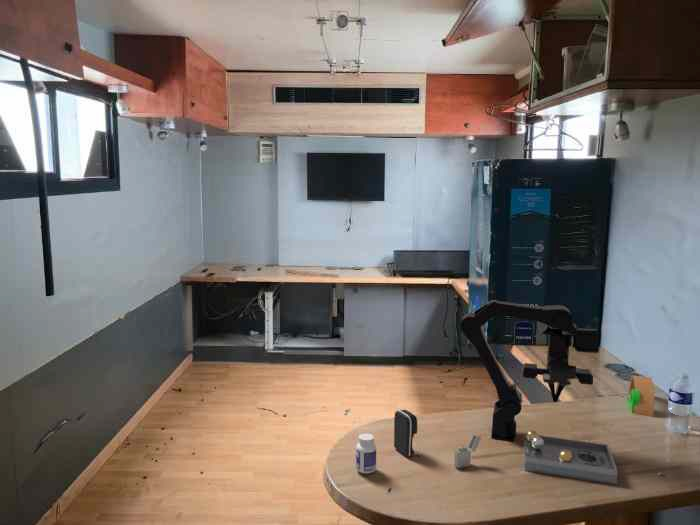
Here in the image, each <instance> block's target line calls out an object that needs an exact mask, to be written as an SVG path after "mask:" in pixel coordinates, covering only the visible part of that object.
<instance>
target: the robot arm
mask: <svg viewBox="0 0 700 525" xmlns="http://www.w3.org/2000/svg"><path fill="white" fill-rule="evenodd" d="M495 316H501V317H507V318H515V319H521V320H529V321H535V322H539V323H541V324H544V325H546V326H545V327H544V328H542V329H541V332H542V335H548V341H547V343H548V344H547V358H546V368H541V367H538V364H537V363H528V362H524V363H523V364H522V377H523V378H525V379H536V378H537V377H538V375H540V376H542V382H543V383H547V385H548V388H549V390H550V394H551V399H552V402H553V403H557V402H558V400H559V397H560V396H561V394H562V392H563V390H564V388H565V387H567V386H570V385H571V384H572V382H571V380H575V379H576V380H577V381H578V382H579V384H580V385H591V386H592V385H593V384H594V375H593V373H592V371H591V370H590V369H587V368H579V367H578V368H577V365H569V359H570V358H569V357H570V345H571V348H572V349H574V350H575V353H583V354H584V353H585V354H595V355H596V354H599V349H600V342H599V341H600V340H599V330H598V329H597V328H579V327H578V326H577V325H576V323H574V322H573V317H572V314H571V312H570V310H569V308H567V307H566V306H564V305H563V304H562V305H561V304H555V305H542V306H540V305H539V306H536V305H535V306H534V305H529V304H521V303H515V302H507V301H501V300H500V301H499V300H497V299H491V300H489V301H488V302H487V303H485V304H484V305H483V306H481V307H479V308H478V309H476V310H475V311H474V312H468V313H467V312H466V313H465V314H464V316H463V317H462V319H461V321H460V323H459V324H460V325H459V328H460V331H461V332H462V333H463V335H464V336H465V338H466V340H468V341H469V342H470V344H472V346H473V347H474V348H475V350H476V353H477V355H478V356H479V358H480V360H481V362H482V364H483V365H484V368H485V370H486V371H487V374H488V375H489V377H490V380H491V381H492V384H493V385H494V387H495V389H496V390H495V391H496V395H497V399H498V400H497V401H496V402H495V403H494V404H493V406H494V407H493V413H492V424H491V425H492V426H491V433H490V434H491V435H490V438H491V439H495V440H500V441H501V440H502V441H507V442H514V440H515V438H516V437H517V436H516V435H517V434H516V433H517V421H516V420H515V419H516V418H515V417H516V416H518V415H519V414H520V413H521V412H522V406H523V405H522V403H523V394H522V392H520V390H519V388H518V385H517V382H514V383H513V384H512V383H510V381H508V378H507V376H506V375H505V373H504V371H503V369H502V367H501V365H500V364H499V362H498V359H497V358H496V356H495V352H493V350H492V348H491V346H490V344H489V341H488V340H487V337H486V333H485V332H486V331H485V328H484V325H485V324H486V323H488V322H489V321H490V320H491V319H492V318H494V317H495ZM563 330H564V331H563ZM570 343H571V344H570ZM555 383H556V386H555ZM555 388H556V389H555Z"/></svg>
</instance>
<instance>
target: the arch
mask: <svg viewBox="0 0 700 525" xmlns="http://www.w3.org/2000/svg"><path fill="white" fill-rule="evenodd" d="M629 380H630V381H629V384H628V385H629V387H628V394H629V395H631V390H632V389H633V390H637V391H639V392H640V403H639V405H635V407H634V413H633V415H637V416H644V417H650V418H654V413H655V390H654V382H653V378H652V377H650V376H641V375H635V374H632V375H631V377H630V379H629Z"/></svg>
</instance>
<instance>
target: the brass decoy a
mask: <svg viewBox="0 0 700 525" xmlns="http://www.w3.org/2000/svg"><path fill="white" fill-rule="evenodd" d="M525 433H526V438H527V440H528V441H529V442H531V440H532V438H534V437H539V436H538V435H539V433H538V432H537V431H536V430H534V429H529V430H528V431H527V432H525Z"/></svg>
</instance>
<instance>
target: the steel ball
mask: <svg viewBox="0 0 700 525" xmlns="http://www.w3.org/2000/svg"><path fill="white" fill-rule="evenodd" d="M531 445H532V447H533V448H535V449H538V450H539V449H542V448H543V446H544V441H543V439H542V438H540V437H534V438H532V440H531Z"/></svg>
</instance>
